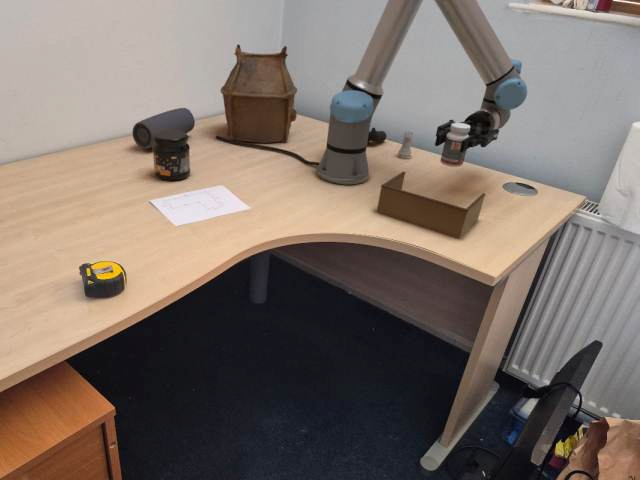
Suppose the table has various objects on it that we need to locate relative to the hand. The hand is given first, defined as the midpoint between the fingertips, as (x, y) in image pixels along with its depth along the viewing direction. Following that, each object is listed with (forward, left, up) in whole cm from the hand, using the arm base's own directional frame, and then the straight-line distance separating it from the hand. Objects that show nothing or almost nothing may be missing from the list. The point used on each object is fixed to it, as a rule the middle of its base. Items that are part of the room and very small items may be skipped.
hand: (449, 143), depth 128 cm
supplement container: (-73, -11, -18) cm, 76 cm away
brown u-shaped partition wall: (-1, -5, -18) cm, 19 cm away
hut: (-66, +37, -18) cm, 78 cm away
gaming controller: (-31, +49, -18) cm, 61 cm away
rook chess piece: (-14, +40, -18) cm, 46 cm away
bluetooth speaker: (-90, +13, -18) cm, 93 cm away
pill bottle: (+1, +5, -7) cm, 8 cm away
